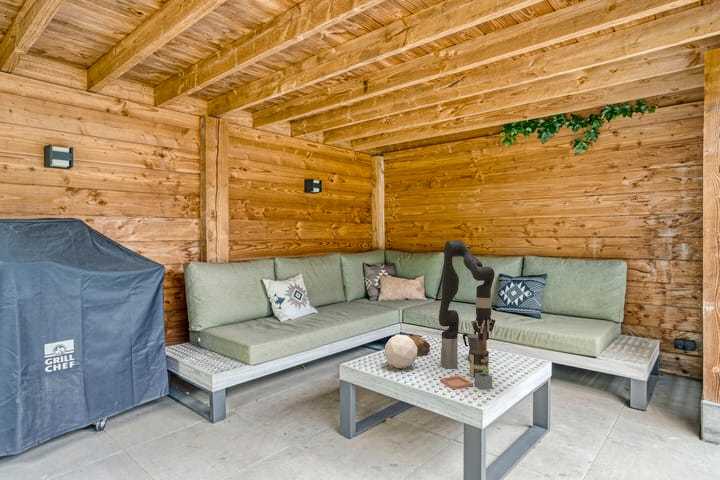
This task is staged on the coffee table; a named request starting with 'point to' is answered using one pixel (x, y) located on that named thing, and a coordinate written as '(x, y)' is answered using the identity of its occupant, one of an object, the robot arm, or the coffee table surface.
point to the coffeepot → (472, 342)
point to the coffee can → (478, 362)
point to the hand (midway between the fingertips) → (483, 339)
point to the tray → (456, 382)
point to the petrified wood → (420, 345)
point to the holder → (483, 381)
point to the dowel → (484, 341)
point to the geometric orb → (401, 351)
